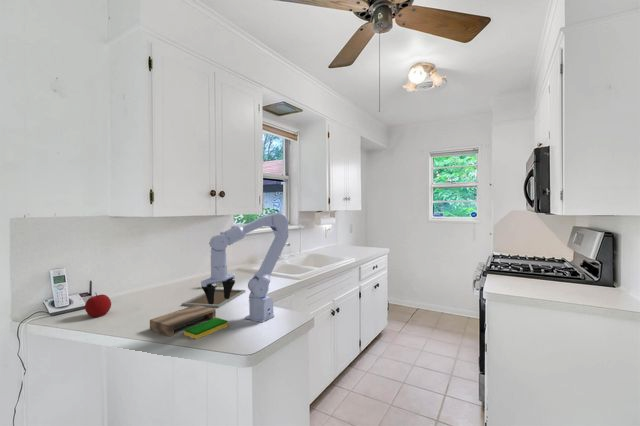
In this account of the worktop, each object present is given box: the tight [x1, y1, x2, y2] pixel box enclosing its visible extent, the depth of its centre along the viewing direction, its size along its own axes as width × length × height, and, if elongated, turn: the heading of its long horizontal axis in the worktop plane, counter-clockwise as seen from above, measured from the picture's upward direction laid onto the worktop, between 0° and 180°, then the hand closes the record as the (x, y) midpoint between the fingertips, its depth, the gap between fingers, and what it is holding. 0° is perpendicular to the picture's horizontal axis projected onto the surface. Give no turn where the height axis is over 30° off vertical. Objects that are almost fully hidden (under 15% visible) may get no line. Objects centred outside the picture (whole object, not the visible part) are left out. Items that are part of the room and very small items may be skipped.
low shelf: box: [149, 305, 217, 337], centre depth 114 cm, size 12×20×4 cm, turn 150°
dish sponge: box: [183, 317, 229, 340], centre depth 108 cm, size 7×14×2 cm, turn 147°
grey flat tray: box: [181, 288, 246, 309], centre depth 150 cm, size 19×2×30 cm
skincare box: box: [215, 264, 228, 288], centre depth 174 cm, size 6×4×12 cm
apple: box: [84, 292, 112, 318], centre depth 126 cm, size 9×9×10 cm
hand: (219, 301), depth 113 cm, fingers open, 7 cm apart
